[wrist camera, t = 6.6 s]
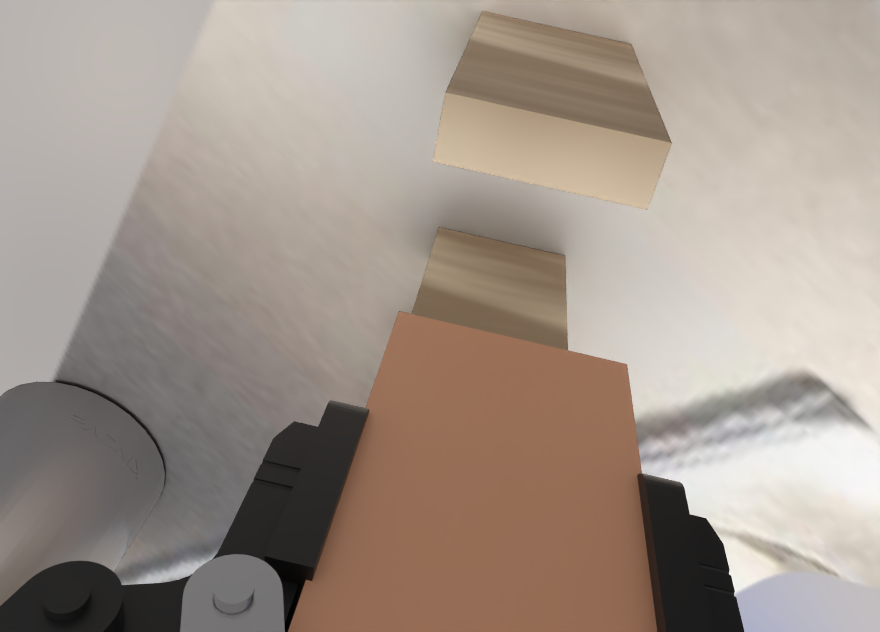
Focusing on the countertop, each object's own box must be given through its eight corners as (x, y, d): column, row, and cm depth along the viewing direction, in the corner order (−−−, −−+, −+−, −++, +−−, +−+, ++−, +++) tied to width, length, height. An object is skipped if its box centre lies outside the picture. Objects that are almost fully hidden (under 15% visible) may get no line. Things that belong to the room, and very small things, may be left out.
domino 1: (616, 92, 25) (647, 209, 17) (472, 60, 26) (432, 161, 17) (631, 44, 25) (671, 142, 16) (482, 11, 25) (445, 92, 16)
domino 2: (554, 290, 30) (554, 463, 21) (431, 262, 30) (382, 424, 21) (565, 255, 29) (569, 421, 20) (438, 227, 29) (390, 380, 20)
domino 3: (398, 311, 16) (223, 815, 8) (626, 364, 16) (704, 932, 8) (388, 370, 17) (219, 882, 8) (604, 420, 17) (651, 987, 8)
